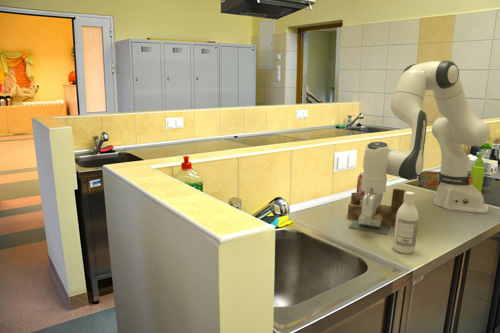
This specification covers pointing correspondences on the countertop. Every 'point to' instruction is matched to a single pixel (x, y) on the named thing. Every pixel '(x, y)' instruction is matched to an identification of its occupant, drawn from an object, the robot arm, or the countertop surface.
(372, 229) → the rest mat
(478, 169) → the soap dispenser
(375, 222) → the kitchen sponge
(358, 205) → the wooden slat carrier
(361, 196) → the soda can
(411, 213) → the bath foam
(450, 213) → the countertop surface
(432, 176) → the tin
